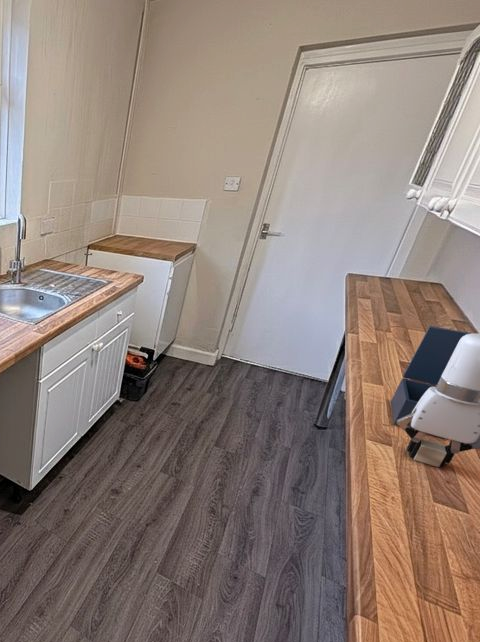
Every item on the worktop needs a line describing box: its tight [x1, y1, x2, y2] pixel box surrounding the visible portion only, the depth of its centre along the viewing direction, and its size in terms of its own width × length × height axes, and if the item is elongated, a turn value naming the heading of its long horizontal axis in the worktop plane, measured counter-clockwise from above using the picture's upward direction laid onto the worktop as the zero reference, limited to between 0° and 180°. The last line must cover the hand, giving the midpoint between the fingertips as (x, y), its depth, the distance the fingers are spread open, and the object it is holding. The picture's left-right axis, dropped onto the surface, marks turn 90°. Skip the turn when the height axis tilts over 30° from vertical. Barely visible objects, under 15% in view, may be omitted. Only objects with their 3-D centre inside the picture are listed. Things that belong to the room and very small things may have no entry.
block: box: [413, 438, 447, 468], centre depth 95 cm, size 4×4×4 cm
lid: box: [402, 325, 474, 386], centre depth 109 cm, size 16×9×1 cm
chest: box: [390, 377, 443, 439], centre depth 109 cm, size 15×9×8 cm, turn 138°
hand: (425, 458), depth 95 cm, fingers closed on block, 4 cm apart
